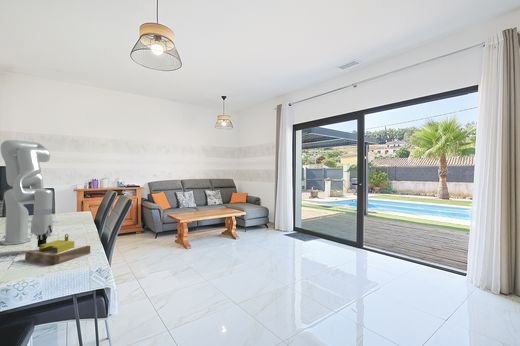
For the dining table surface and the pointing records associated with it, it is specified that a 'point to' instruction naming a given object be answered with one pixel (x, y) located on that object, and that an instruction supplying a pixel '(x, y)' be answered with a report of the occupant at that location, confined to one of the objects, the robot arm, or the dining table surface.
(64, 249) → the bracket
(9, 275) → the dining table surface
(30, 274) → the dining table surface
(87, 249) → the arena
